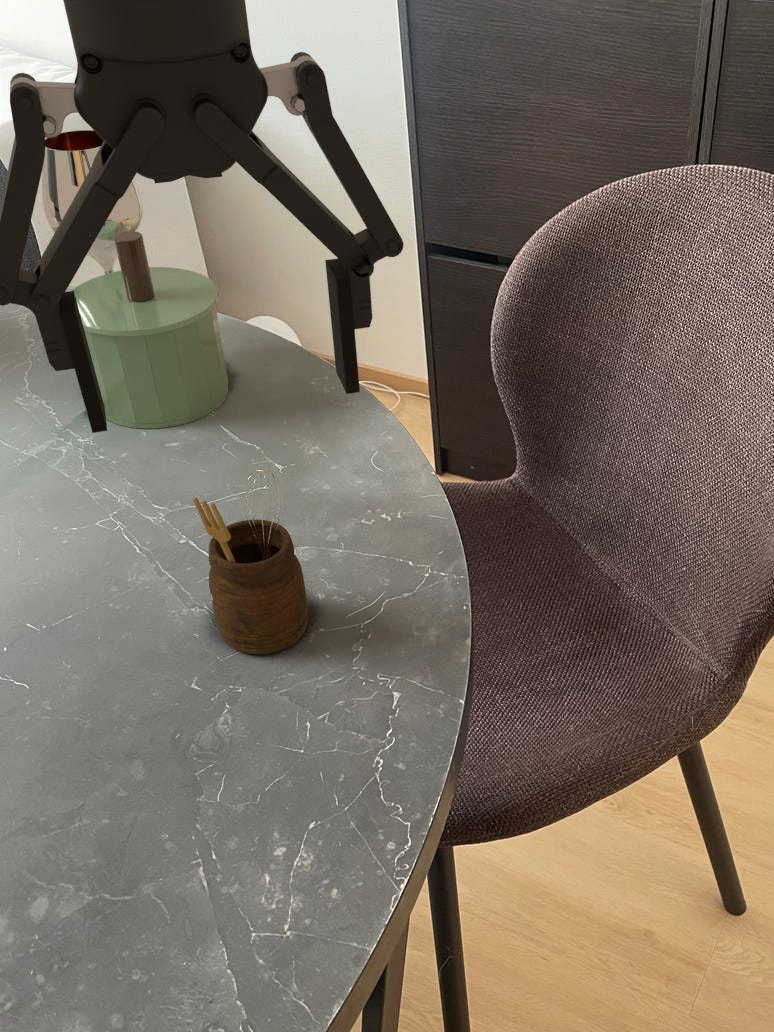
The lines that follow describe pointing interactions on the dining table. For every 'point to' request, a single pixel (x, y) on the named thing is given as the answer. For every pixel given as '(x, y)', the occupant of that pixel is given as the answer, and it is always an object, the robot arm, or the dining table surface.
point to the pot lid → (143, 295)
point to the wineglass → (63, 180)
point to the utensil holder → (255, 581)
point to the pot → (161, 374)
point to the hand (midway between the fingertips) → (226, 401)
